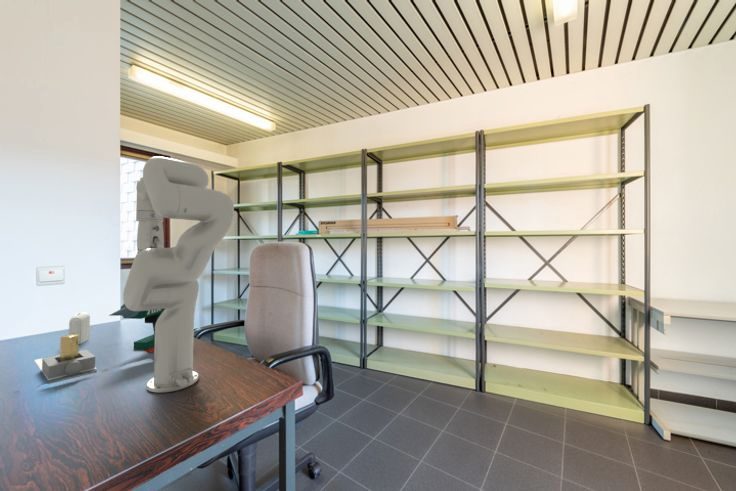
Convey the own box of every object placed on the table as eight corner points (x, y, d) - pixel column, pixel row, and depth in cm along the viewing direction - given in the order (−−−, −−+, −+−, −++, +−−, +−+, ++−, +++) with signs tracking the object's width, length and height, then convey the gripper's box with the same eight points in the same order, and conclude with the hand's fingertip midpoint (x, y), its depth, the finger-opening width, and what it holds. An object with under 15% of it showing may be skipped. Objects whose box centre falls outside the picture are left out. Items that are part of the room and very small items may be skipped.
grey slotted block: (97, 373, 92) (97, 357, 92) (48, 385, 84) (49, 368, 84) (77, 354, 107) (77, 341, 107) (33, 363, 99) (34, 349, 99)
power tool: (118, 368, 97) (120, 305, 97) (96, 367, 97) (98, 305, 97) (181, 338, 129) (183, 291, 129) (165, 337, 129) (166, 291, 129)
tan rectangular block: (79, 368, 93) (80, 336, 93) (61, 372, 89) (62, 339, 89) (76, 365, 95) (77, 333, 95) (58, 369, 92) (59, 336, 92)
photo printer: (81, 347, 115) (82, 314, 115) (66, 348, 113) (67, 315, 113) (91, 339, 124) (91, 309, 124) (77, 340, 122) (78, 310, 122)
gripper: (173, 217, 101) (172, 267, 101) (152, 219, 111) (150, 265, 111) (147, 215, 95) (146, 268, 95) (127, 217, 105) (125, 266, 105)
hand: (148, 267), depth 103 cm, fingers open, 9 cm apart
